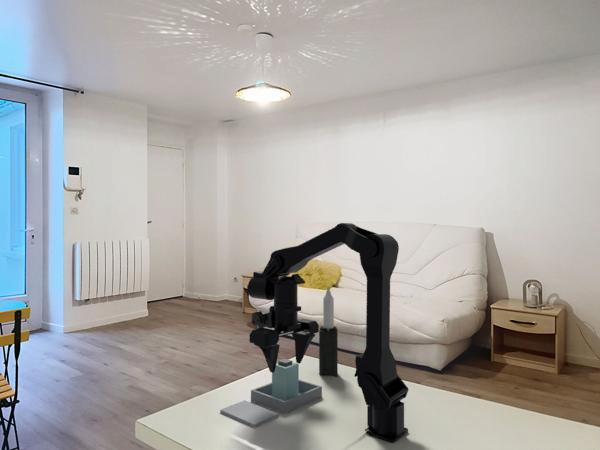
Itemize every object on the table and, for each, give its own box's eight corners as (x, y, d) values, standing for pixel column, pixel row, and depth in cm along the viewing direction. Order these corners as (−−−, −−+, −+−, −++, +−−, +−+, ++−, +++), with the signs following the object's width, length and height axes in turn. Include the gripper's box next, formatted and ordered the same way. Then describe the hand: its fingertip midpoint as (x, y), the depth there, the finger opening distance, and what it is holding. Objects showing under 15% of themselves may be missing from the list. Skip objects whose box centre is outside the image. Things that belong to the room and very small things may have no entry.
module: (298, 397, 102) (298, 360, 102) (285, 403, 99) (285, 364, 99) (284, 392, 105) (284, 357, 105) (271, 398, 101) (272, 361, 102)
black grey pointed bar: (337, 372, 122) (337, 285, 123) (337, 378, 117) (337, 287, 118) (319, 371, 123) (319, 285, 123) (318, 377, 118) (319, 287, 118)
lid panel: (278, 419, 91) (278, 413, 91) (254, 430, 86) (254, 424, 86) (244, 405, 99) (244, 400, 99) (220, 415, 93) (220, 409, 93)
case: (321, 398, 103) (321, 386, 103) (284, 416, 93) (284, 402, 93) (285, 387, 111) (285, 375, 111) (248, 401, 101) (248, 389, 101)
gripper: (287, 294, 114) (287, 353, 114) (233, 303, 100) (233, 369, 100) (319, 298, 107) (320, 361, 107) (266, 308, 93) (266, 380, 93)
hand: (285, 367), depth 102 cm, fingers open, 9 cm apart
